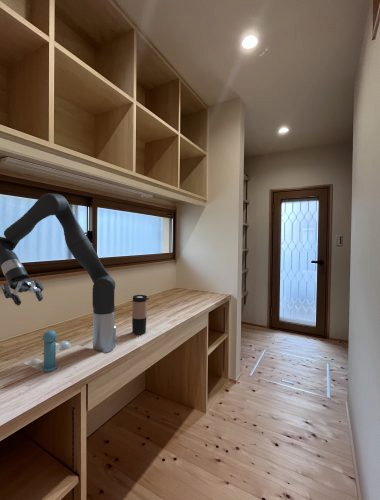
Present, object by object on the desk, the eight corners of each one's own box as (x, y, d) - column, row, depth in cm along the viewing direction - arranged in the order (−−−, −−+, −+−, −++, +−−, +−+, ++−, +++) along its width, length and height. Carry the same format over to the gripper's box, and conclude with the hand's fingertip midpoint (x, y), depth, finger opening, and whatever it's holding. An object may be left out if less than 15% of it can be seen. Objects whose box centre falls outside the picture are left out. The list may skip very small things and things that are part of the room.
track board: (37, 360, 104) (37, 357, 104) (63, 370, 96) (63, 367, 96) (20, 367, 98) (20, 363, 98) (45, 379, 90) (46, 375, 90)
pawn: (51, 364, 98) (52, 327, 97) (59, 367, 95) (60, 329, 95) (39, 370, 93) (39, 331, 93) (47, 373, 91) (47, 333, 90)
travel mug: (129, 331, 139) (130, 295, 138) (142, 329, 143) (143, 294, 143) (135, 336, 133) (135, 298, 132) (148, 333, 137) (149, 296, 136)
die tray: (64, 349, 118) (64, 336, 118) (75, 353, 115) (75, 340, 114) (43, 357, 110) (43, 344, 109) (54, 362, 106) (54, 348, 106)
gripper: (-1, 267, 101) (15, 299, 96) (35, 265, 113) (51, 293, 108) (-8, 280, 103) (8, 311, 98) (28, 276, 116) (43, 304, 111)
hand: (30, 302), depth 103 cm, fingers open, 8 cm apart
